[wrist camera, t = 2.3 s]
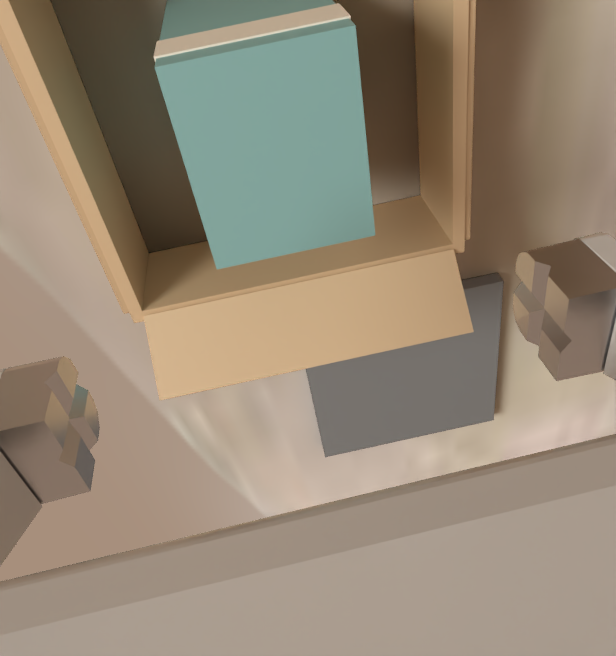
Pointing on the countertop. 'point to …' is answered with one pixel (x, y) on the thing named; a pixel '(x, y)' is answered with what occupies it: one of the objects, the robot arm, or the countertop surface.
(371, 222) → the tea box
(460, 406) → the mat
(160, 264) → the carton
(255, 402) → the countertop surface
